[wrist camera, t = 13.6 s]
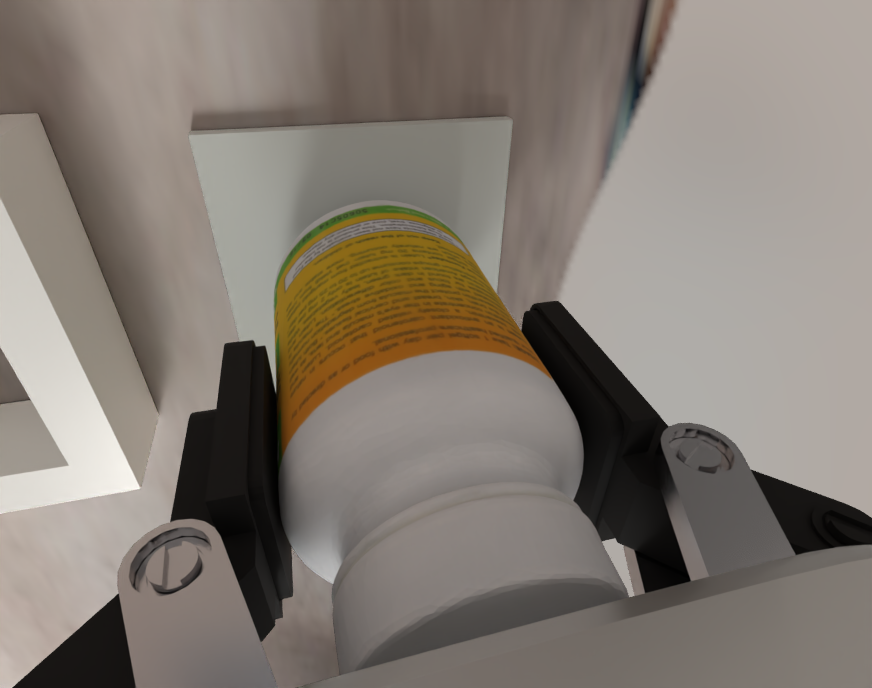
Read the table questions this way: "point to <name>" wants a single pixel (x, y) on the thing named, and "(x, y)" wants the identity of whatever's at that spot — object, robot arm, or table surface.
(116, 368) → the collar
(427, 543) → the supplement bottle
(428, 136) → the mat
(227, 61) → the table surface
